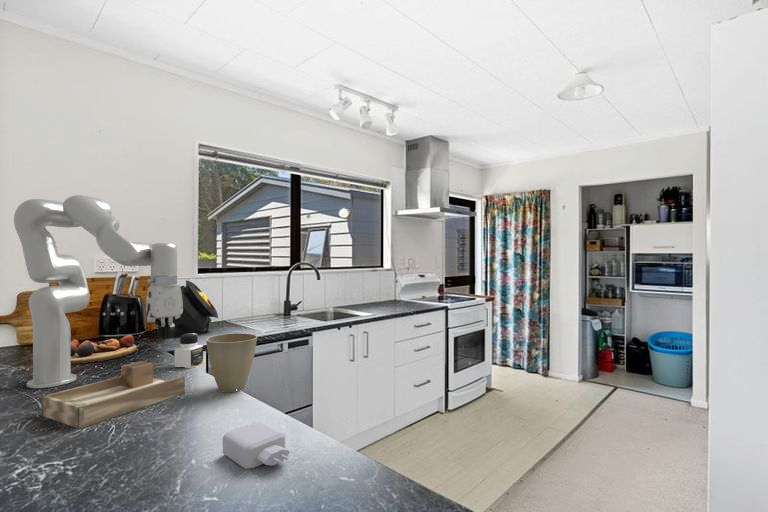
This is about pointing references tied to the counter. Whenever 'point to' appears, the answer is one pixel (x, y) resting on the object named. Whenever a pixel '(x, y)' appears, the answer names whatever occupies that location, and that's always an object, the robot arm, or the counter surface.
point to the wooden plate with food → (101, 349)
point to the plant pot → (231, 359)
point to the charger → (255, 445)
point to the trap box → (106, 400)
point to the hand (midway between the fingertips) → (164, 338)
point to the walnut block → (136, 374)
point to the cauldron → (194, 310)
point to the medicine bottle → (189, 351)
